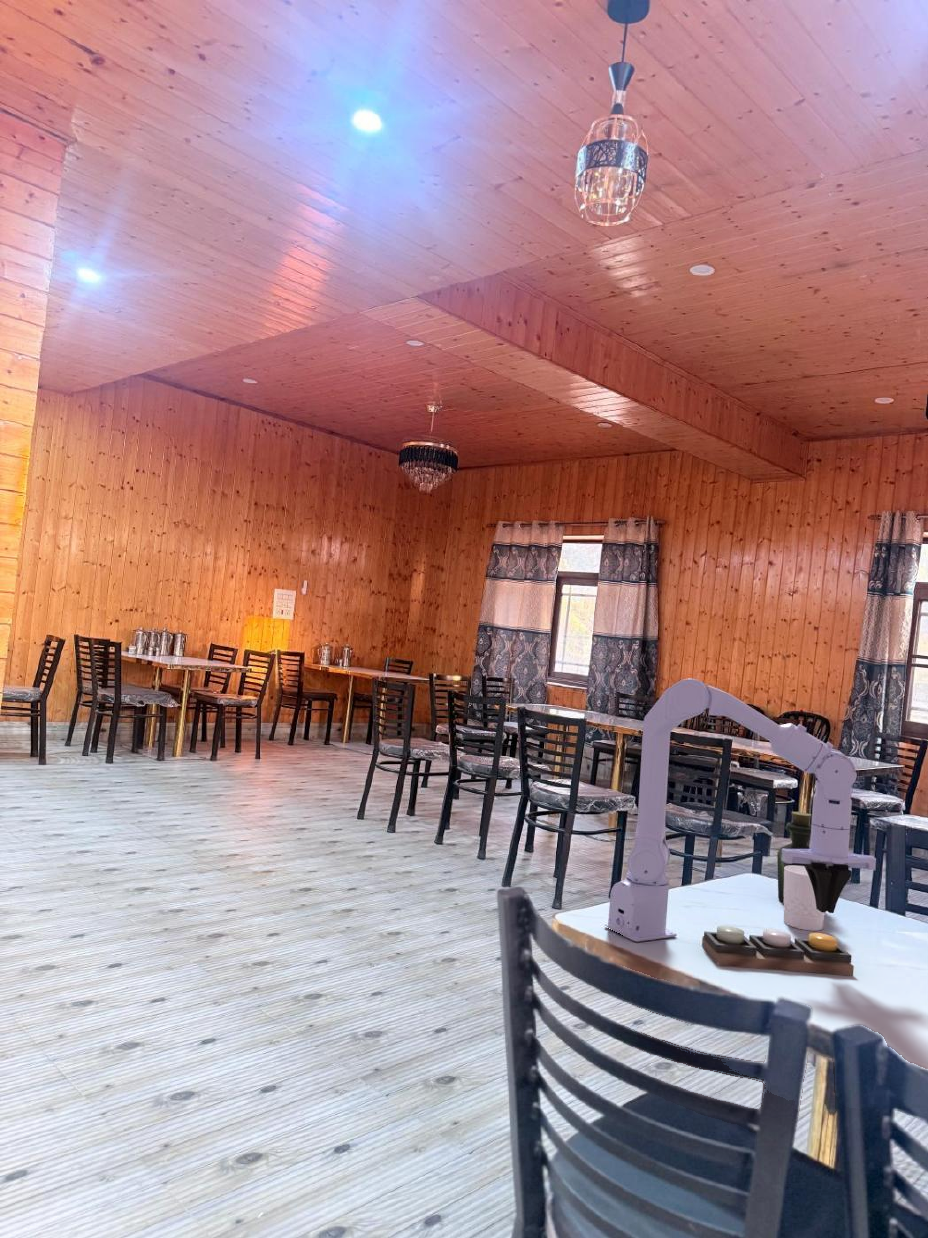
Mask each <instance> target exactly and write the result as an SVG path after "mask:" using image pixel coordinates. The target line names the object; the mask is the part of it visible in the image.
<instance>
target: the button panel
mask: <svg viewBox="0 0 928 1238" xmlns="http://www.w3.org/2000/svg"><path fill="white" fill-rule="evenodd" d="M716 936H717V931H716V932H715V931H704V932H703V936H702V938H701V939H702V940H701V946H702V947H703V949H704V950H705V951H706V952H707V953H708V954H709V956H711V958H712V959H713V960H714V961H715V962H716V963H717V965H718V966H723V967H737V968H749V969H750V968H751V969H760V970H761V969H763V970H772V971H773V970H776V971H777V970H778V971H787V972H789V971H790V972H800V973H810V974H811V973H814V974H826V975H835V976H836V975H839V976H849V977H850V976H851V977H854V965H853V964H852V954H850V953H849V952H848V951H846V950H845V949H844V948H842V947H841V946H840V945H838V944H837V950H835V951H826V950H821V949H817V948H814V947H812V946H810V945H809V939H803V938H794V942H793V940H791V942H790V946H789V947H777V946H773V945H769V944H767V943H765V942H763V935H752V934H749V937H748V938H747V937H746V936H745V935H744V942H743V943H729V942H725V941H722V940H719V939H718V938H717V937H716Z"/></svg>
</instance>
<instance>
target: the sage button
mask: <svg viewBox="0 0 928 1238" xmlns="http://www.w3.org/2000/svg"><path fill="white" fill-rule="evenodd" d="M716 932H717V936H716V937H717V938H718V939H719V940H722V941H725V942H729V943H743V942H744V936H745V931H744V930H743V929H741V928H738V927H734V926H730V925H718V926H717V927H716Z"/></svg>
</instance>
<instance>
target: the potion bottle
mask: <svg viewBox="0 0 928 1238" xmlns="http://www.w3.org/2000/svg"><path fill="white" fill-rule="evenodd" d="M791 818H792V819H791V820H792V822H787V823H786V825H785V827H784V829H785V830H786V831H788V832H789V835H790V839H791V843H788V844H785V845H784V846H783V845H782V846H781V847H780V848H779V849H778V851H777V853H776V854H777V856H776V857H777V894H778V895H777V896H778V897H777V898H778V900H779V901H780V902H781V903H783V904H784V867H785V866H790V865H796V866H805V865H804V864H802V863H792V864H790V863H785V862H783V861H782V860H781V857H782V849H810V846H809V845H808V842H809V840H810V838H811V826H812V824H810V822H811V820H812V813H807V812H801V811H791Z"/></svg>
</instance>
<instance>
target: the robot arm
mask: <svg viewBox="0 0 928 1238" xmlns="http://www.w3.org/2000/svg"><path fill="white" fill-rule="evenodd" d="M706 709H709V710H708V716H719V717H727V718H729V719H730V720H732V721H734V722H736V723H738V724H739V725H741V726H743V727H745V728H747V729H748V730H750V731H751V732H753V733H755V734H756V735H759V736H760V737H762V738H763V739H765V740H767V741H769V744H770V748H771V752H772V753H773V754H775V755H777V756H778V757H780V758H781V759H783V760H784V761H786V762H788V763H789V764H791V765H793V766H794V767H796V768H798V769H799V770H801V771H803V772H804V773H805V774H814V775H815V778H816V780H815V791H814V794H813V798H812V799H813V801H812V813H811V835H810V842H809V843H810V844H809V847H810V849H782V857H781V860H782V861H783V862H785V863H790V864H792V863H802V864H804V865H805V869H806V871H807V873H808V876H809V878H810V881H811V884H812V887H813V891H814V895H815V901H816V909H818V910H819V911H820V912H824V913H825V914H826V913H827V912H828V914H834V912H835V910H836V906H837V903H838V901H839V898H840V896H841V894H842V892H843V890H844V888H845V887H846V885H847V884H848V882H849V881H850V880H851V878H852V877H853V876H852V874H853V871H852V870H851V869H849V868H852V869H853V868H854V869H864V870H868V871H876V865H877V858H876V857H874V856H872V855H866V854H857V853H851V852H849V851H850V849H849V847H850V834H851V833H850V831H851V821H852V820H851V819H852V817H851V816H852V806H853V801H852V794H853V789H852V786H853V785H854V783H855V782H856V779H857V777H858V773H857V772H856V767H855V764H854V762H853V761H852V760H851V759H850V758H849V757H848V756H847V755H845V754H844V753H843V752H841V751H840V750H838V749H835V748H834V749H833V747H834V744H832V743H830V742H828V741H827V742H826V743H825V742H824V741H822V740H821V739H819V738H817V737H815V736H813V735H812V734H810V733H809V732H807V728H806V727H805V726H803V725H802V724H798V725H795V724H793V723H791V722H790V723H785V724H781V725H780V724H778V723H776V722H774V720H771V719H770V718H769V717H767V716H765V715H764V714H762V713H761V712H760V711H757V710H756V709H755V708H753V707H751V706H749V705H748V704H746V703H745V702H743V701H742V700H740V699H739V698H738V697H736V696H734V695H732V694H730V693H728V692H726V691H724V690H721V689H719V688H717V687H714V686H712V685H706V683H704V682H703V681H701V680H700V679H697V678H685V679H681V680H680V681H677V682H676V683H674V684H673V685H671V686H670V687H668V688H666V689H665V690H664V692H663V693H662V694H661V696H660V697H659V699H658V700H657V701H656V702H655V703H654V705H653V706H652V707H651V709H650V710H649V711H648V712H647V714H645V716H644V718H643V725H642V739H641V740H642V741H641V754H640V755H641V758H640V759H641V761H640V772H639V773H640V775H639V791H638V792H639V793H638V806H637V807H638V808H637V823H636V829H635V835H634V844H633V847H632V850H630V852H629V854H628V856H627V867H628V870H627V872H626V877H625V878H624V879H623V880H621V881H618V882H616V883H615V884H614V885H612V888H611V891H610V897H609V907H608V908H609V909H608V922H607V923H605V924H604V927H605V926H607V927H608V928H610V929H612V930H613V931H612V930H611V931H612V932H614V931H615V932H614V933H616V932H617V934H618V933H620V934H621V936H622V935H623V936H622V937H625V938H627V939H629V940H631V941H632V942H645V941H652V940H658V939H660V940H661V939H666V938H674V937H677V933H676V932H674V931H673V930H670V929H667V913H668V903H669V901H668V900H669V892H670V891H669V890H670V878H669V877H668V876H667V874H666V870H667V869H666V868H667V866H668V865H669V862H670V858H671V852H670V848H669V846H668V843H667V841H666V834H667V833H666V832H667V831H666V817H667V816H666V812H667V800H668V799H667V797H668V777H669V776H668V775H669V765H670V764H669V759H670V744H671V732H672V731H673V730H675V728H677V727H678V726H679V725H681V724H682V723H683V722H684V721H686V720H689V719H692V718H694V717H697V716H699V715H701V714H703V712H705V711H706ZM608 928H607V929H608ZM610 929H609V930H610ZM620 934H619V935H620Z"/></svg>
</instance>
